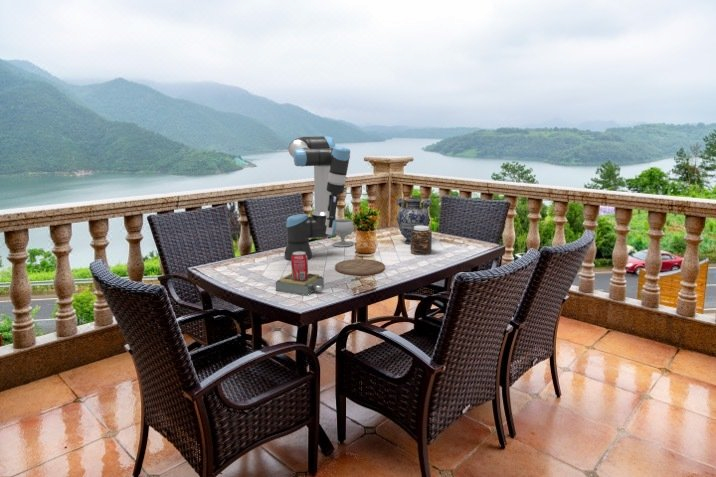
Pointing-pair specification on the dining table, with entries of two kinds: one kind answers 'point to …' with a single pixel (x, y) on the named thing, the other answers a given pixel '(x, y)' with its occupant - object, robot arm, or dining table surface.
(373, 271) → the trivet
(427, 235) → the jar
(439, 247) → the dining table surface
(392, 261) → the dining table surface
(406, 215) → the decorative vase
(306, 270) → the soda can
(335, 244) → the chalice
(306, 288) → the grey framed box
